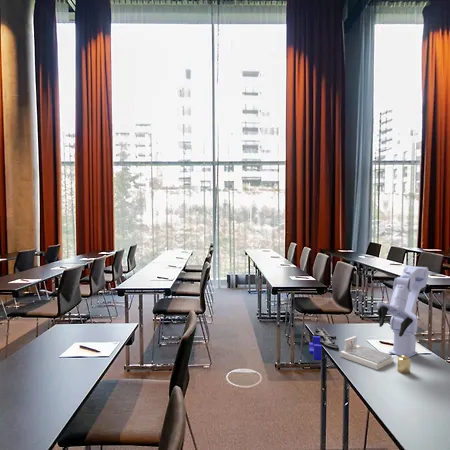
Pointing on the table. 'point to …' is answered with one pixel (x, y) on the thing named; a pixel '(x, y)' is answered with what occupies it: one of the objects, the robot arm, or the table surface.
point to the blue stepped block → (315, 348)
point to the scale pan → (370, 354)
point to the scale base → (352, 344)
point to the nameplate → (326, 339)
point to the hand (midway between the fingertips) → (390, 330)
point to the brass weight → (404, 364)
